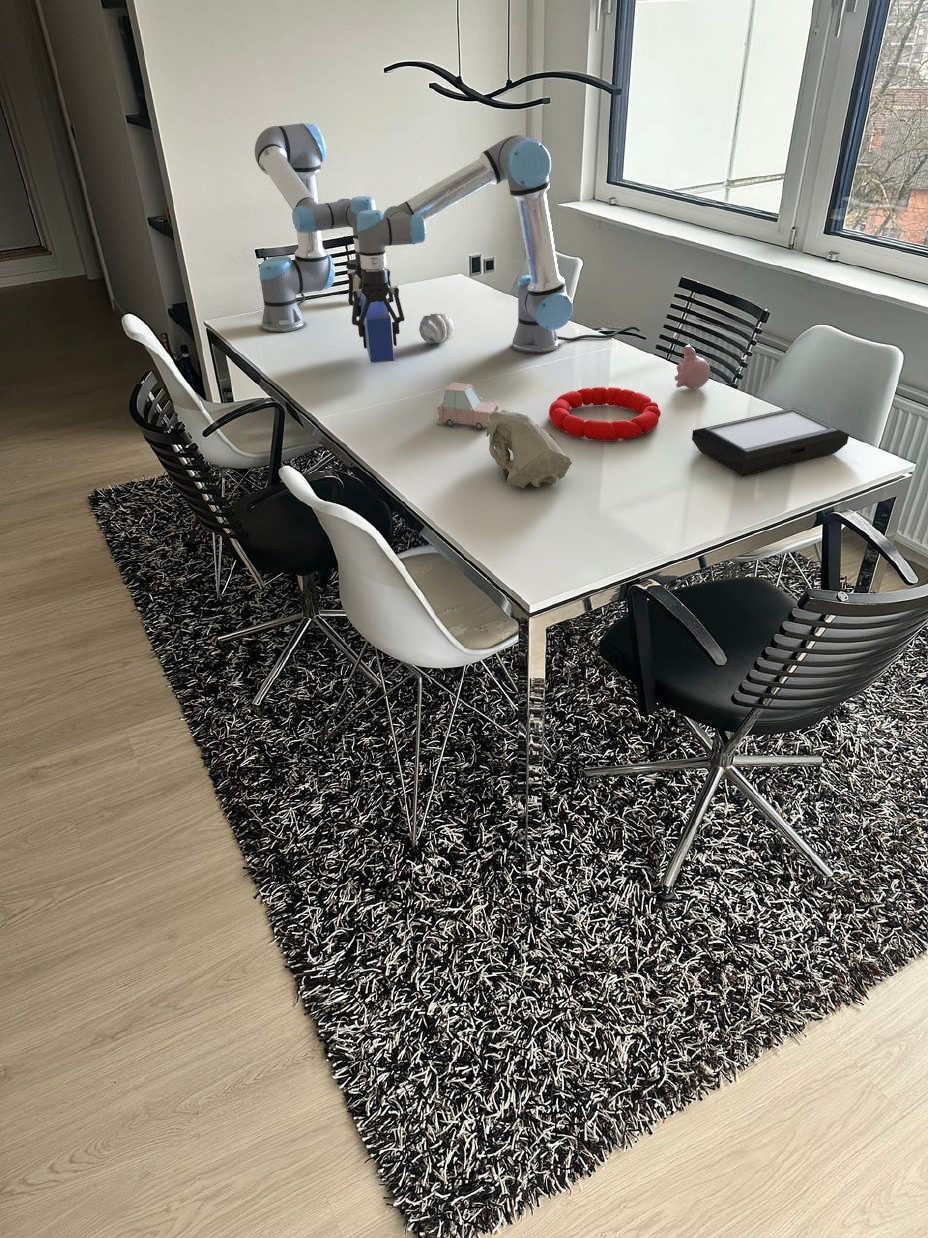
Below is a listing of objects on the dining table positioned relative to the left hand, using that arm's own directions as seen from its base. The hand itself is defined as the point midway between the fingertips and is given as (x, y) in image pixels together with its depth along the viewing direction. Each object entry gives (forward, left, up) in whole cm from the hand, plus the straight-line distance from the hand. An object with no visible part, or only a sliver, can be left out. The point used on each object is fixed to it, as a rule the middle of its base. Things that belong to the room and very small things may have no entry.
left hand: (373, 325), depth 292 cm
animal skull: (+99, +27, -10) cm, 103 cm away
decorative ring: (+75, +56, -10) cm, 94 cm away
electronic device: (+104, +89, -10) cm, 137 cm away
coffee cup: (-66, +1, -10) cm, 67 cm away
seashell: (-6, +22, -10) cm, 25 cm away
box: (+12, 0, -4) cm, 12 cm away
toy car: (+66, +19, -10) cm, 70 cm away
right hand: (+23, 0, 0) cm, 23 cm away
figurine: (+56, +88, -10) cm, 105 cm away
